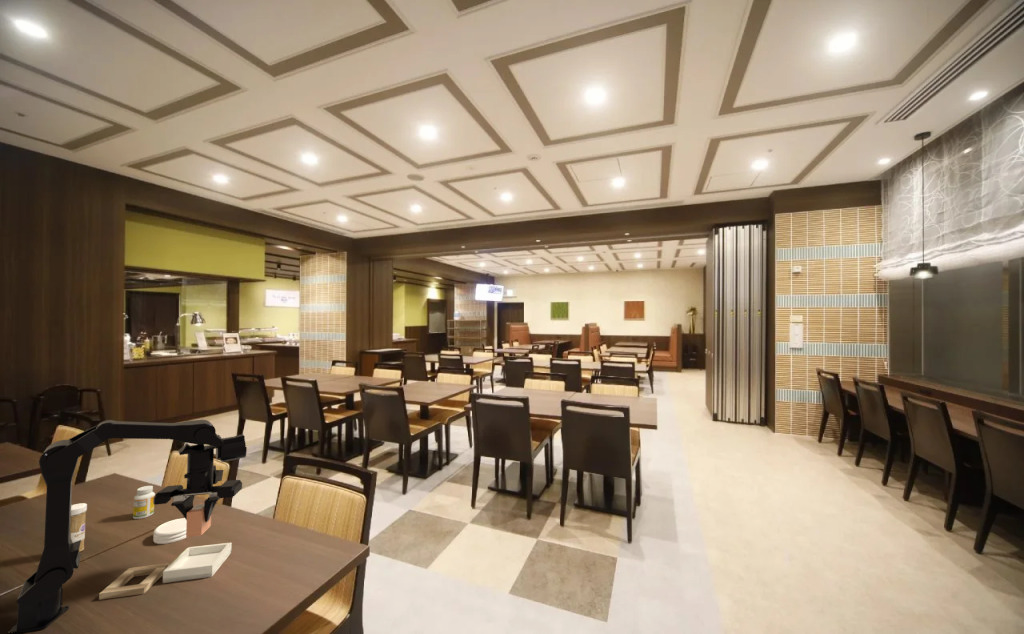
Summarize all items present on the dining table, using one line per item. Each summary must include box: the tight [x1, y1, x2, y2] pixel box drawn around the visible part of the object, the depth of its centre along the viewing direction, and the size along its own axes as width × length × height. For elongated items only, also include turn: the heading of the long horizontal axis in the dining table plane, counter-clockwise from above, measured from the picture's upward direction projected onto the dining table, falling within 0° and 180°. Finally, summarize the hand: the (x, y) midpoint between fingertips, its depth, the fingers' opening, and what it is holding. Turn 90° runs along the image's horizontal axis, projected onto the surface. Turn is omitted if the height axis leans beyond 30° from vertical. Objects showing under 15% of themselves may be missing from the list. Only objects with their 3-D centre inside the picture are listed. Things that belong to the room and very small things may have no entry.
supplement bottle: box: [132, 485, 156, 520], centre depth 131 cm, size 5×5×10 cm
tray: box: [162, 542, 233, 584], centre depth 104 cm, size 11×11×3 cm
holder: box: [98, 562, 170, 601], centre depth 97 cm, size 10×9×2 cm
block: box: [186, 502, 212, 538], centre depth 104 cm, size 5×4×7 cm
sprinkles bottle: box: [70, 502, 88, 553], centre depth 109 cm, size 5×5×13 cm
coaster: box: [152, 517, 188, 545], centre depth 119 cm, size 10×10×4 cm
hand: (199, 522), depth 104 cm, fingers closed on block, 3 cm apart
